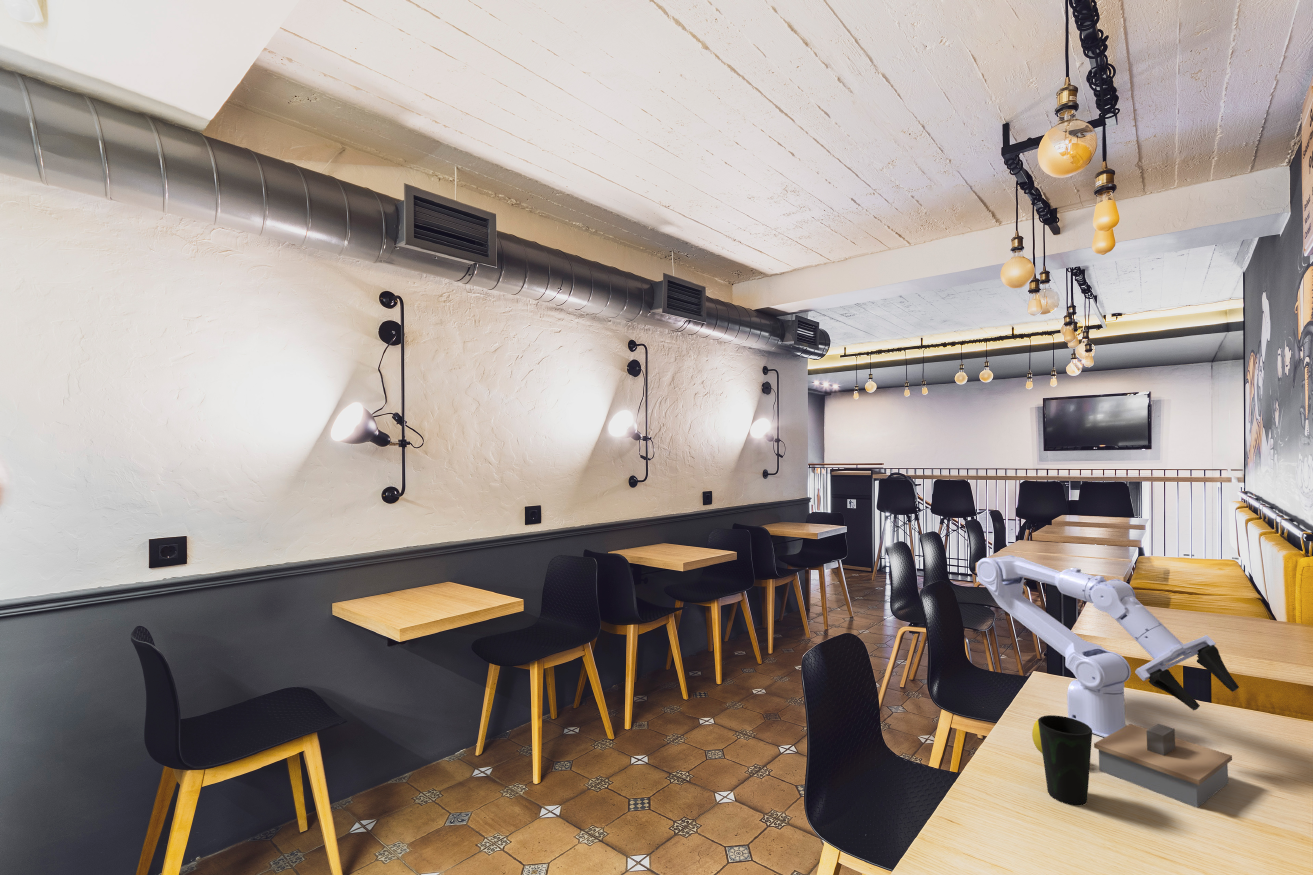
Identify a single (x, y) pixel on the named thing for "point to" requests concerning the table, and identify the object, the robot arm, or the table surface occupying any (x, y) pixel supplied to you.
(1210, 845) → the table surface
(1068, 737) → the cup
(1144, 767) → the box
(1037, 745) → the lemon
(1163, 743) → the lid
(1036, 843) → the table surface
